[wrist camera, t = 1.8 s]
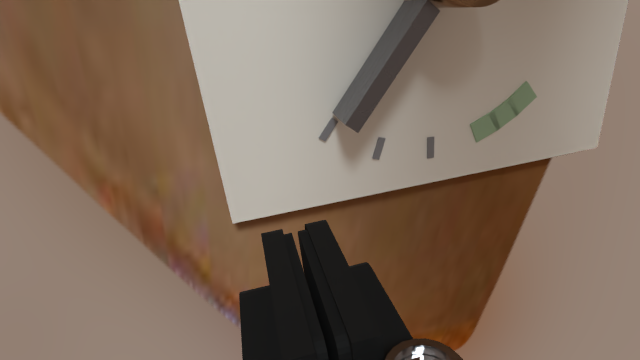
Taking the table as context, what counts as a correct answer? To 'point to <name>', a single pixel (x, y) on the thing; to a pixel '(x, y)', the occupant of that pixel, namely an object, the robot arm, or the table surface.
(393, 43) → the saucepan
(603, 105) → the dial board
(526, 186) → the table surface
